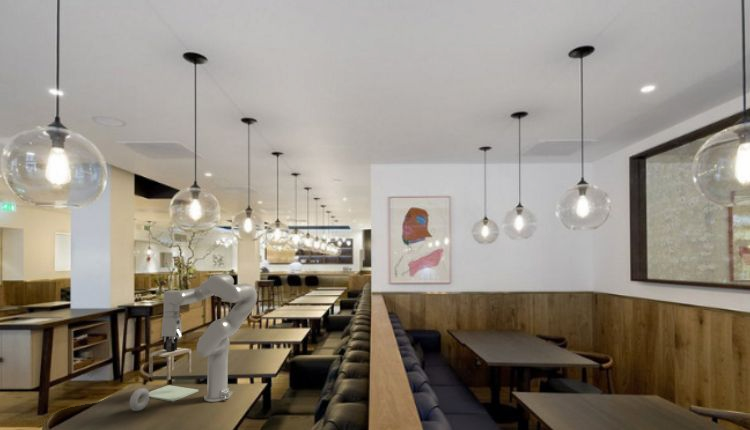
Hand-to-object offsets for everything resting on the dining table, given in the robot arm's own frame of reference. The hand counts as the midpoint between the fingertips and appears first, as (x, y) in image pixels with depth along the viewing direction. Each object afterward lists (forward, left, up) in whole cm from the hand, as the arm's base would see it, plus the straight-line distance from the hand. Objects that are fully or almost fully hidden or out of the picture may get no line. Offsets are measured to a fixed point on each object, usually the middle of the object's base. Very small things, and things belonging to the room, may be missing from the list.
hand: (170, 349), depth 221 cm
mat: (0, 0, -22) cm, 22 cm away
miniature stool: (0, 0, -13) cm, 13 cm away
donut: (-6, +22, -23) cm, 32 cm away
